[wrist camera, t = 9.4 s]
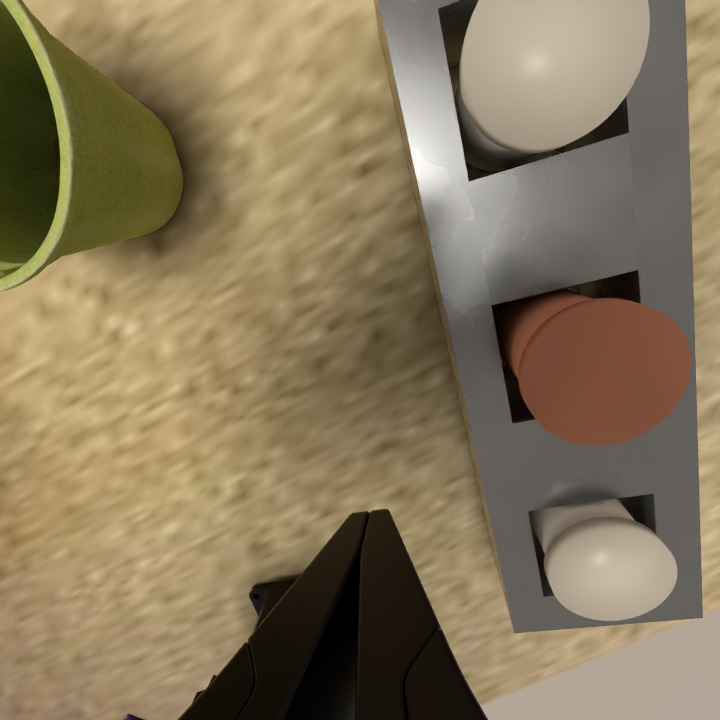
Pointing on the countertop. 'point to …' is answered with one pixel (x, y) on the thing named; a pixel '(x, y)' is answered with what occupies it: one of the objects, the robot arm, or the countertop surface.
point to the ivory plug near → (544, 73)
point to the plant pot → (72, 154)
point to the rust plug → (593, 364)
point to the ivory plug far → (603, 560)
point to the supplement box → (130, 718)
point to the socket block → (551, 272)
